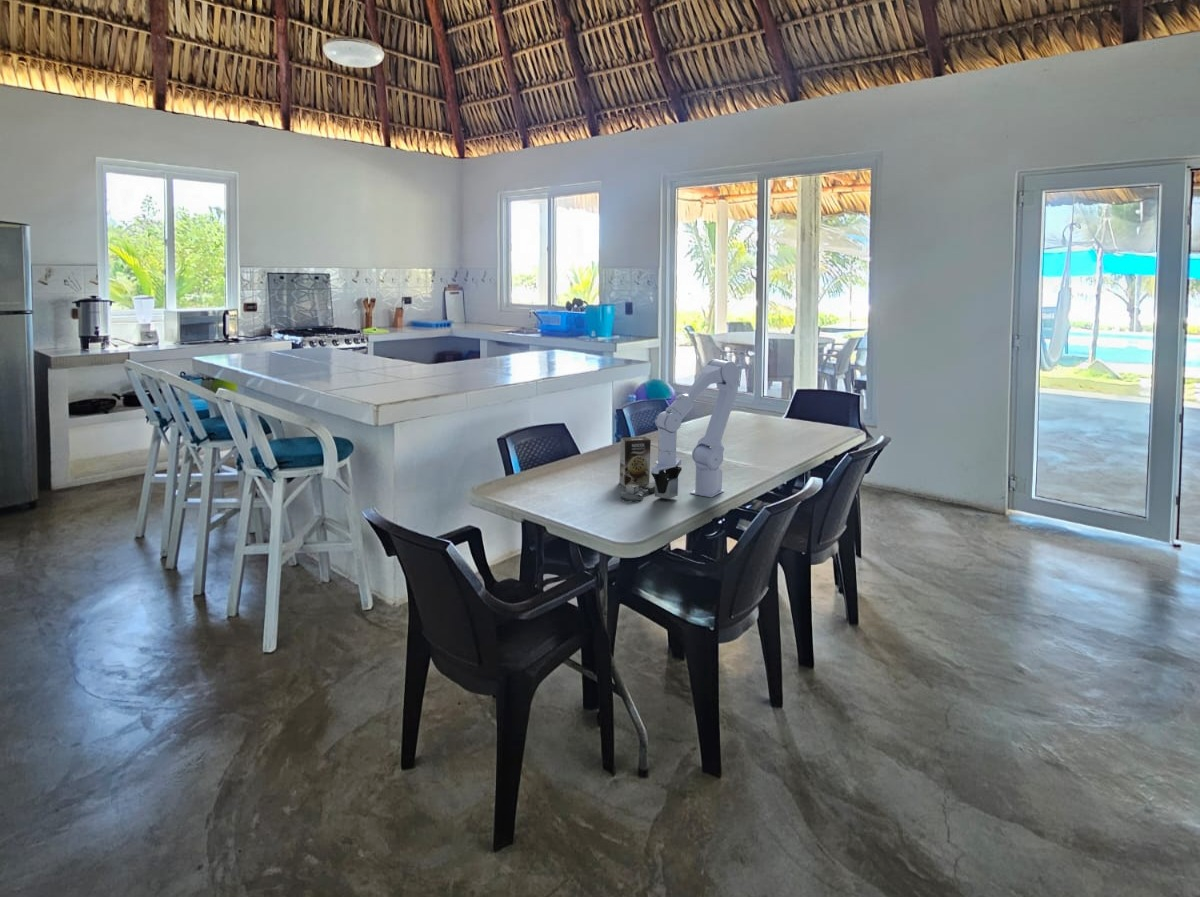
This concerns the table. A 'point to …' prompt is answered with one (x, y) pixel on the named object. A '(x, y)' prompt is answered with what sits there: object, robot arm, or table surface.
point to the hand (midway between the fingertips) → (666, 490)
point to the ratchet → (637, 492)
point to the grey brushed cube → (669, 488)
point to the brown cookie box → (635, 461)
